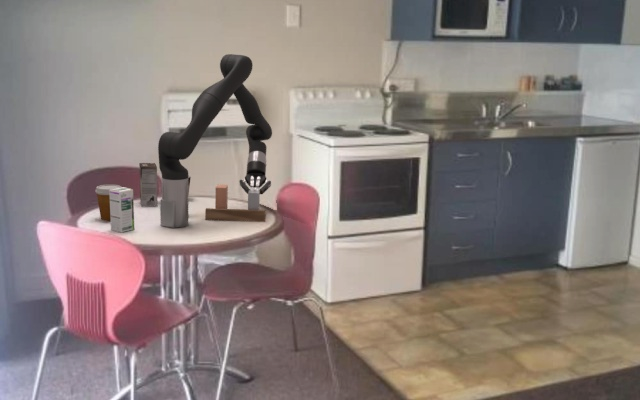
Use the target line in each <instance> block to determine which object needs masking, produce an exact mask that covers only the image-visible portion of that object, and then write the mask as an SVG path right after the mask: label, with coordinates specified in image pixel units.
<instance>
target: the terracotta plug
mask: <svg viewBox="0 0 640 400" xmlns="http://www.w3.org/2000/svg"><path fill="white" fill-rule="evenodd" d="M228 188H229V187H228V184H219V183H218V184H217V185H216V186H215V203H214V204H215V208H214V209H228V203H229V202H228V201H229V200H228V193H229V192H228V190H229V189H228Z"/></svg>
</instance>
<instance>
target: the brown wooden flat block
mask: <svg viewBox="0 0 640 400" xmlns="http://www.w3.org/2000/svg"><path fill="white" fill-rule="evenodd" d="M204 210H205V211H204V212H205V214H204V215H205V221H229V222H256V223H257V222H259V223H261V222H262V223H264V222H265V223H266V221H265V220H266V216H267V210H266V209H259V210H248V209H238V208H227V209H215V208H212V207H211V208H210V207H209V208H207V207H206V208H205V209H204Z"/></svg>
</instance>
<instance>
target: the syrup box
mask: <svg viewBox="0 0 640 400" xmlns="http://www.w3.org/2000/svg"><path fill="white" fill-rule="evenodd" d="M109 195H110V216H111V221H110V230H111V231H114V232H117V233H121V234H122V233H125V232H128V231H134V230H135V209H134V205H135V204H134V189H133V188H129V187H126V186H125V187H124V186H123V187H122V186H121V188H117V189H111V190H109Z"/></svg>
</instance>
